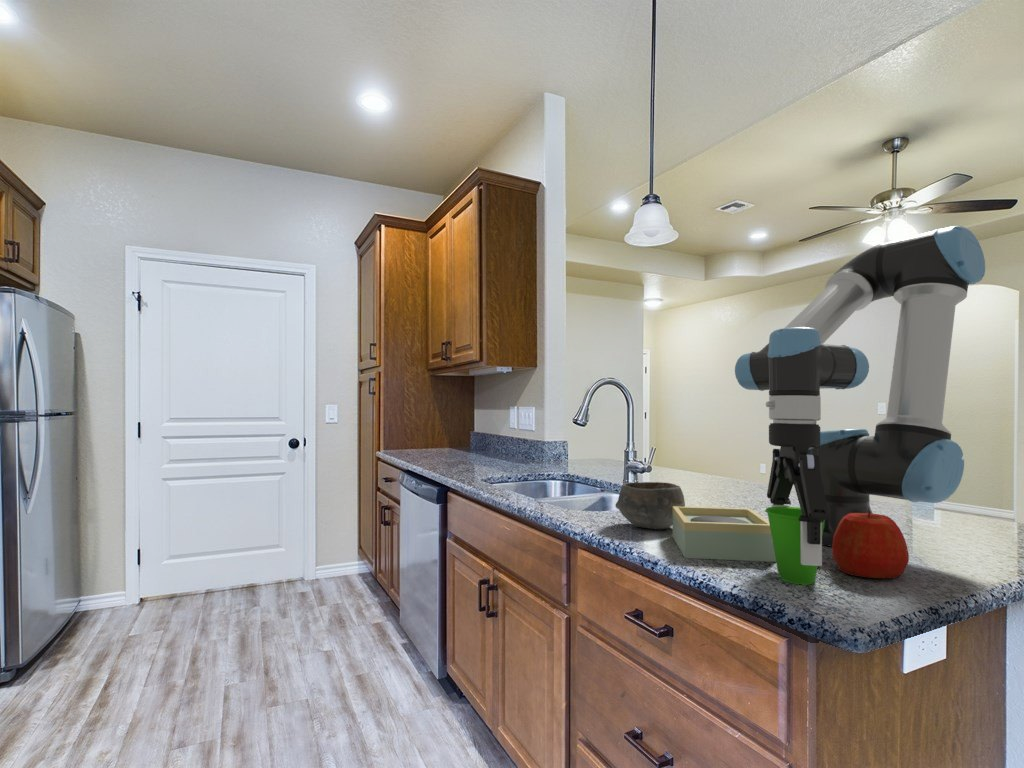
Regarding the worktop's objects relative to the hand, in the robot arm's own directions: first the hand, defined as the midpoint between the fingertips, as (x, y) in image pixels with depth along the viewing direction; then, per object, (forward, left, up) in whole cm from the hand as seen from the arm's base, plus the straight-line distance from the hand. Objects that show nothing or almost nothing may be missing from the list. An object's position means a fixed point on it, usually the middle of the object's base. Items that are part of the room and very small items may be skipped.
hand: (794, 553), depth 87 cm
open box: (+8, -18, -4) cm, 20 cm away
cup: (0, 0, -5) cm, 5 cm away
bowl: (+20, -34, -5) cm, 40 cm away
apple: (-13, -5, -5) cm, 15 cm away
